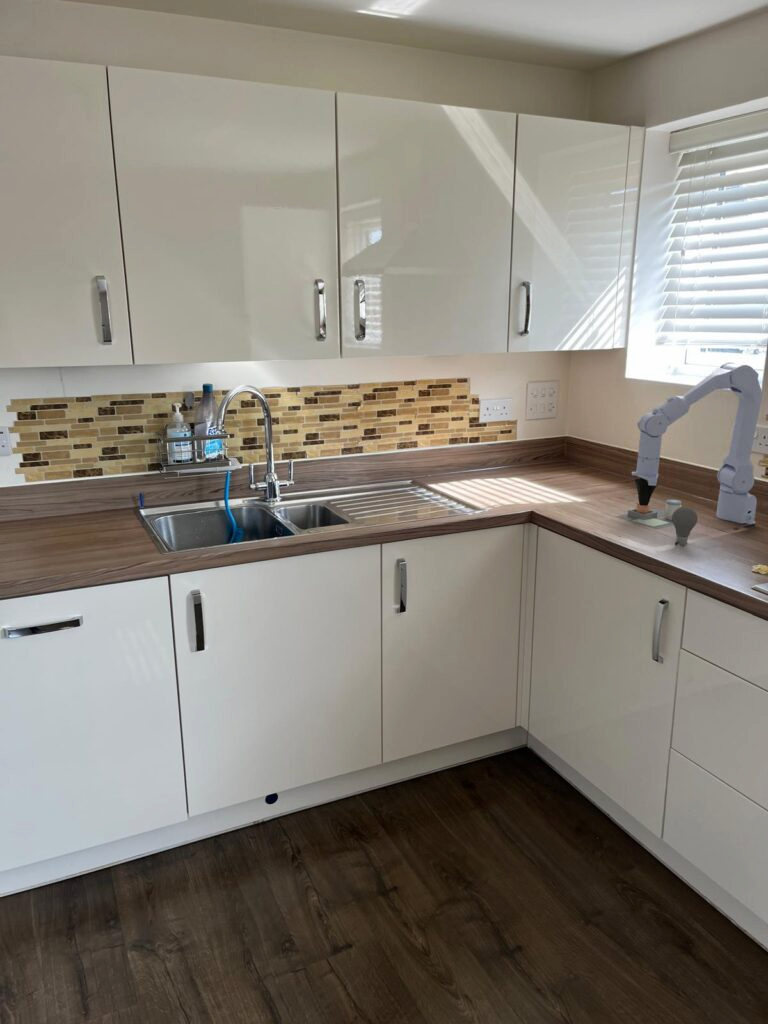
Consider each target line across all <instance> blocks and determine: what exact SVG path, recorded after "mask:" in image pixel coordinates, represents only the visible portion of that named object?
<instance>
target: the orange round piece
mask: <svg viewBox="0 0 768 1024" xmlns="http://www.w3.org/2000/svg"><path fill="white" fill-rule="evenodd" d="M635 509H636V512H638V513H642V514H647V513H650V509H651V504H648V506H646V505H640V504H639V502H638V503H636V508H635Z"/></svg>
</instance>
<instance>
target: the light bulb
mask: <svg viewBox="0 0 768 1024" xmlns="http://www.w3.org/2000/svg"><path fill="white" fill-rule="evenodd" d="M671 521H672V522H673V524H674V525H673V526H674V528H675V535H676V542H675V543H676V544H677V545H679V546H685V545H687V544H688V539H689V536H690V535H691V531H692V530H693V529H694V528H695V526H696V525H697V522H698V514H697V513H696V511H695V510H694V509H693V508H692V507H689V506H681V507H680V508H678V509H677V510H675V511H674V513H673V515H672V520H671Z"/></svg>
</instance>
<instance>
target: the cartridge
mask: <svg viewBox="0 0 768 1024" xmlns="http://www.w3.org/2000/svg"><path fill="white" fill-rule="evenodd" d="M665 501H666V503H665V508H664V509H665V510H664V511H665V516H664V519H667V520H671V521H672V515H673V513H674V511H675V510H677V509H678V508H680V507H682V501H681V500H678V499H666V500H665Z"/></svg>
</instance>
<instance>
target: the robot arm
mask: <svg viewBox="0 0 768 1024" xmlns="http://www.w3.org/2000/svg"><path fill="white" fill-rule="evenodd" d="M759 375H760V373H758V372H757V370H755V369H754V368H753V367H752V366H751V365H747V364H740V363H735V362H726V363H723V364H722V365H721V366H720V367H716V368H715V369H714V370H712V372H711V373H710V374H708V376H706V377H704V378H703V379H702V380H700V381H699V382H698V383H697V384H696V385H694V386H693V387H691V389H689V390H688V391H687V392H686V393H683V395H682V396H681V395H674V396H669V397H668V398H666V401H665V402H664V403H662V404H661V405H659V406H658V407H654V408H653V409H652V410H651V412H647V413H645V414H643V415H642V416H641V417H640V419H639V421H638V422H637V428H638V430H639V431H640V432H639V433H640V435H639V442H638V451H637V460H636V461H637V462H636V470H635V471H631V475H632V476H635V477H638V478H633V479H634V483H635V486H636V489H637V498H638V503H639V504H640V505H646V506H648V504H649V503H650V501H651V497H652V494H653V493H654V491H655V489H656V488H657V487H658V485H659V482H658V478H659V467H660V457H661V449H662V448H661V447H662V440H663V439H662V437H663V435H664V434H665V433H666V432H667V429H668V427H669V426H671V425H672V424H674V423H675V422H677V421H678V420H679V419H681V418H682V417H683V416H685V415H686V414H688V413H689V412H690V411H689V410H690V406H692V405H693V404H696V403H697V402H698V401H700V400H701V399H704V398H705V397H706V396H708V395H709V394H711V393H713V392H714V391H717V390H724V389H725V390H728V389H729V390H731V391H732V392H733V393H734V395H735V396H736V397H737V398H738V404H737V410H736V415H735V420H734V425H733V431H732V436H731V441H730V447H729V451H728V454H727V456H726V457H725V458H724V459H723V461H722V465H721V467H720V468H719V469H718V470H717V471H718V472H717V475H716V477H717V481H718V482H719V484H720V486H719V494H718V499H717V500H718V501H717V507H716V508H717V509H716V515H715V517H716V518H717V519H721V520H723V521H724V520H725V521H729V522H730V521H731V522H733V523H738V524H745V525H740V526H739V528H742V527H746V526H750V525H754V524H756V521H755V517H756V512H757V511H756V510H757V497H756V496H755V495H753V494H750V492H749V491H750V490H751V489H752V488H753V486H754V484H755V476H754V465H753V463H752V460H751V454H752V448H753V444H754V438H755V435H756V434H755V433H756V428H757V424H758V420H759V419H758V418H759V414H760V409H761V404H762V399H763V391H762V388H761V385H760V382H759ZM649 505H650V504H649Z"/></svg>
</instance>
